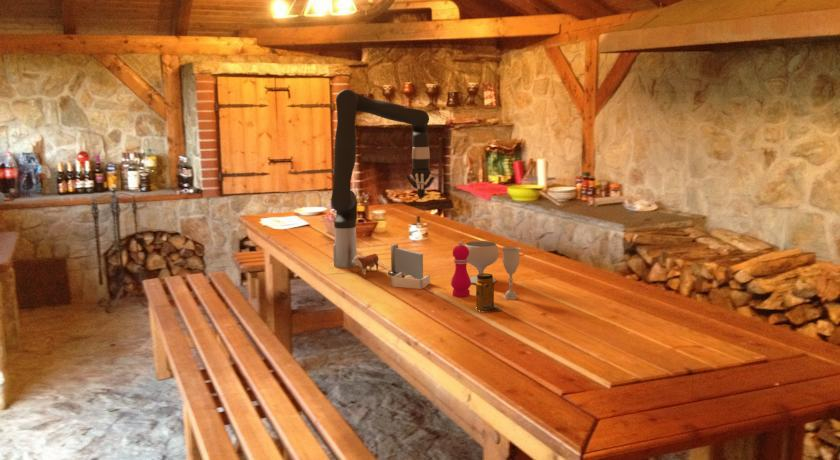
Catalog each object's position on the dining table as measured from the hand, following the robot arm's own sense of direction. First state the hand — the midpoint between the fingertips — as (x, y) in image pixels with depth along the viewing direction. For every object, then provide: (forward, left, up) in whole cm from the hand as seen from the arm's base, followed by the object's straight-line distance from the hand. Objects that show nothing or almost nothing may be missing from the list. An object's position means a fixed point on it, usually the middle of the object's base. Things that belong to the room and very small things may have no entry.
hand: (421, 197), depth 307 cm
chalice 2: (+50, -42, -29) cm, 72 cm away
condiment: (+46, -58, -29) cm, 80 cm away
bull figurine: (-16, -23, -29) cm, 41 cm away
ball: (+9, -37, -29) cm, 48 cm away
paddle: (+3, -25, -28) cm, 38 cm away
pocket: (+9, -35, -29) cm, 47 cm away
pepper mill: (+32, -44, -29) cm, 62 cm away
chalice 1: (+33, -22, -29) cm, 49 cm away
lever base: (-4, -21, -29) cm, 36 cm away
